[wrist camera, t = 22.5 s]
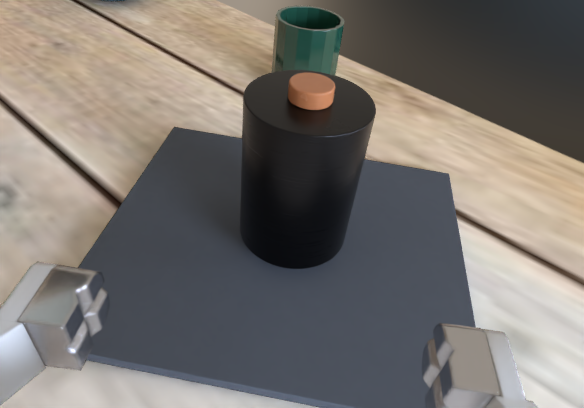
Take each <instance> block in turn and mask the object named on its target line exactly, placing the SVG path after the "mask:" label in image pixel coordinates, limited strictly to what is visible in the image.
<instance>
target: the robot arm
mask: <svg viewBox="0 0 584 408" xmlns="http://www.w3.org/2000/svg"><path fill="white" fill-rule="evenodd" d="M104 281H105V280H104V277H103V274H102V272H98V271H93V270H87V269H81V268H75V267H69V266H63V265H58V264H51V263H45V262H38V261H37V262H36V263H35V264H33V265H32V266H30V268H29V269H28V270H27V272H26V273H25V274H24V276H23V277H22V279H21V280H20V281H19V283H18V284H17V285H16V287H15V288H14V290H13V291H12V292H11V294H10V295H9V296H8V298H7V299H6V300H5V302H4V303H3V305H2V306H1V307H0V405H2V404H3V403H4V402H5V401H6V400H8V399H9V398H10V397H11V396H12V395H14V394H15V393H16V392H17V391H19V390H20V389H21V388H22V387H23V386H25V385H26V384H27V383H28V382H29V381H31V380H32V379H33V378H34V377H36V376H37V375H38V374H39V373H40V372H42V371H43V370H44V369H45V368H46V367H45V366H50V367H57V368H65V369H73V370H81V369H82V367H83V365H84V363H85V361H86V359H87V357H88V355H89V353H90V351H91V349H92V347H93V342H92V338H91V336H92V335H94V334H95V333H97V332H98V331H100V330H101V329H102V327H103V325H104V323H105V321H106V319H107V315H108V311H109V307H110V298H109V294H108V292H107V291H106V290H105V289H104V288H102V285H103V283H104ZM433 333H434V338H433V339H431V340H428V341H427V343H426V345H425V347H424V350H423V356H422V376H423V380H424V381H425V382H426V384H427V385H428V386H429V388H430V389H429V391H428V392H427V394H426V396H425V403H426V408H538V407H537V406H536V405H535V404H534V402H533V401H527V400H526V398H525V394H524V391H523V388H522V384H521V381H520V377H519V374H518V371H517V367H516V364H515V360H514V357H513V353H512V350H511V347H510V343H509V340H508V337H507V336H506V334H505V333H504V332H501V331H493V330H485V329H481V328H476V327H469V326H461V325H454V324H447V323H439V324H437V325H436V326H435V328H434V330H433Z"/></svg>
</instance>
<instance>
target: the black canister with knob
mask: <svg viewBox="0 0 584 408" xmlns="http://www.w3.org/2000/svg"><path fill="white" fill-rule="evenodd" d="M375 114H376V108H375V104H374V102H373V100H372V98H371V97H370V95H369V94H368V93H367V92H366V91H364V90H363V89H362V88H360V87H359V86H357V85H356V84H354V83H352V82H350V81H348V80H346V79H343V78H340V77H338V76H334V75H331V74H327V73H322V72H316V71H308V70H285V71H278V72H273V73H269V74H266V75H263V76H261V77H258V78H257V79H255V80H253V81H252V82H251V83H250V84H249V85H248V86H247V88H246V90H245V92H244V96H243V131H242V168H241V206H240V233H241V237H242V239H243V242H244V243H245V245H246V246H247V248H248V249H249V250H250V251H251V252H252V253H253V254H254V255H255V256H257V257H258V258H260V259H261V260H263V261H265V262H267V263H269V264H272V265H275V266H278V267H282V268H288V269H306V268H312V267H316V266H319V265H321V264H324V263H326V262H328V261H329V260H331V259H332V258H333V257H334V256H335V255H336V254H337V253H338V252H339V251H340V249H341V247H342V246H343V243H344V239H345V235H346V231H347V227H348V223H349V219H350V215H351V211H352V207H353V203H354V199H355V195H356V191H357V187H358V182H359V178H360V174H361V170H362V166H363V162H364V158H365V154H366V150H367V146H368V142H369V138H370V134H371V130H372V126H373V122H374V118H375Z"/></svg>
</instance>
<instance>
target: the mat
mask: <svg viewBox="0 0 584 408" xmlns="http://www.w3.org/2000/svg"><path fill="white" fill-rule="evenodd" d="M241 168H242V138H236V137H230V136H225V135H219V134H213V133H207V132H201V131H195V130H189V129H183V128H178V127H174V128H173V130H172V131H171V132H170V134H169V135H168V137H167V138H166V140H165V141H164V143H163V144H162V146H161V147H160V149H159V150H158V151H157V153H156V154H155V156H154V157H153V159H152V160H151V162H150V163H149V165H148V166H147V168H146V169H145V170H144V172H143V173H142V175H141V176H140V178H139V179H138V181H137V182H136V184H135V185H134V187H133V188H132V189H131V191H130V192H129V194H128V195H127V197H126V198H125V200H124V201H123V203H122V204H121V206H120V207H119V208H118V210H117V211H116V213H115V214H114V216H113V217H112V219H111V220H110V222H109V223H108V225H107V226H106V227H105V229H104V230H103V232H102V233H101V235H100V236H99V238H98V239H97V241H96V242H95V244H94V245H93V246H92V248H91V249H90V251H89V252H88V254H87V255H86V257H85V258H84V260H83V261H82V263H81V264H80V265H79V267H78V268H81V269H87V270H93V271H98V272H102V274H103V277H104V280H105V281H104V283H103V285H102V288H104V289H105V290H106V291H107V292H108V294H109V298H110V307H109V311H108V315H107V319H106V321H105V323H104V325H103V327H102V329H101V330H100V331H98V332H97V333H95V334H94V335H92V336H91V338H92V342H93V347H92V349H91V351H90V353H89V355H88V357H87V359H86V360H89V361H94V362H99V363H104V364H109V365H114V366H119V367H124V368H129V369H134V370H138V371H143V372H148V373H153V374H158V375H163V376H168V377H173V378H178V379H183V380H188V381H193V382H198V383H203V384H208V385H212V386H217V387H222V388H227V389H232V390H237V391H242V392H247V393H252V394H257V395H262V396H267V397H272V398H277V399H282V400H286V401H291V402H296V403H301V404H306V405H311V406H316V407H321V408H426V403H425V396H426V394H427V392H428V391H429V389H430V388H429V386H428V385H427V384H426V382H425V381H424V380H423V376H422V356H423V350H424V347H425V345H426V343H427V341H428V340H431V339H433V338H434V333H433V330H434V328H435V326H436V325H437V324H439V323H447V324H454V325H461V326H469V327H475V321H474V315H473V310H472V304H471V298H470V292H469V287H468V281H467V275H466V269H465V264H464V258H463V252H462V247H461V241H460V235H459V229H458V224H457V218H456V212H455V206H454V201H453V195H452V189H451V183H450V178H449V174H447V173H441V172H436V171H430V170H424V169H418V168H412V167H406V166H400V165H395V164H389V163H383V162H377V161H371V160H365V159H364V162H363V166H362V170H361V174H360V178H359V182H358V187H357V191H356V195H355V199H354V203H353V207H352V211H351V215H350V219H349V223H348V227H347V231H346V235H345V239H344V243H343V246H342V247H341V249H340V251H339V252H338V253H337V254H336V255H335V256H334V257H333V258H332V259H331V260H329V261H328V262H326V263H324V264H321V265H319V266H316V267H312V268H306V269H288V268H282V267H278V266H275V265H272V264H269V263H267V262H265V261H263V260H261V259H260V258H258V257H257V256H255V255H254V254H253V253H252V252H251V251H250V250H249V249H248V248H247V246H246V245H245V243H244V242H243V239H242V237H241V233H240V206H241Z"/></svg>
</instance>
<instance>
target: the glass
mask: <svg viewBox="0 0 584 408" xmlns="http://www.w3.org/2000/svg"><path fill="white" fill-rule="evenodd" d="M343 26H344V20H343V18H342V17H341V16H340V15H338V14H336V13H334V12H332V11H329V10H326V9H323V8H318V7H311V6H291V7H285V8H283V9H280V10H278V12H277V14H276V20H275V33H274V48H273V62H272V73H273V72H278V71H285V70H308V71H316V72H322V73H327V74H331V75H334V76H335V73H336V68H337V62H338V56H339V50H340V44H341V38H342V32H343Z"/></svg>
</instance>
